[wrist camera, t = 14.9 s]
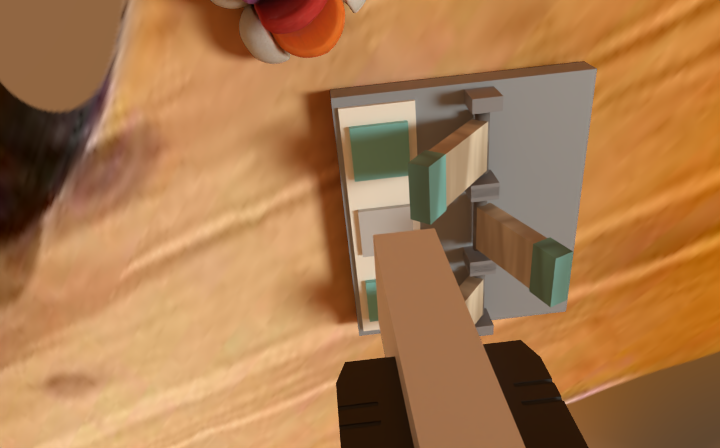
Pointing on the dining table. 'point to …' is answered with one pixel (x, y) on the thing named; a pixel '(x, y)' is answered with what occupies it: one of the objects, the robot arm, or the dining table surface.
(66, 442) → the dining table surface
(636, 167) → the dining table surface
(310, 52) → the rainbow disc wheeled toy
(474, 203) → the lever
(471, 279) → the lever
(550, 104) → the switch board
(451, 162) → the lever
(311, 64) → the dining table surface
